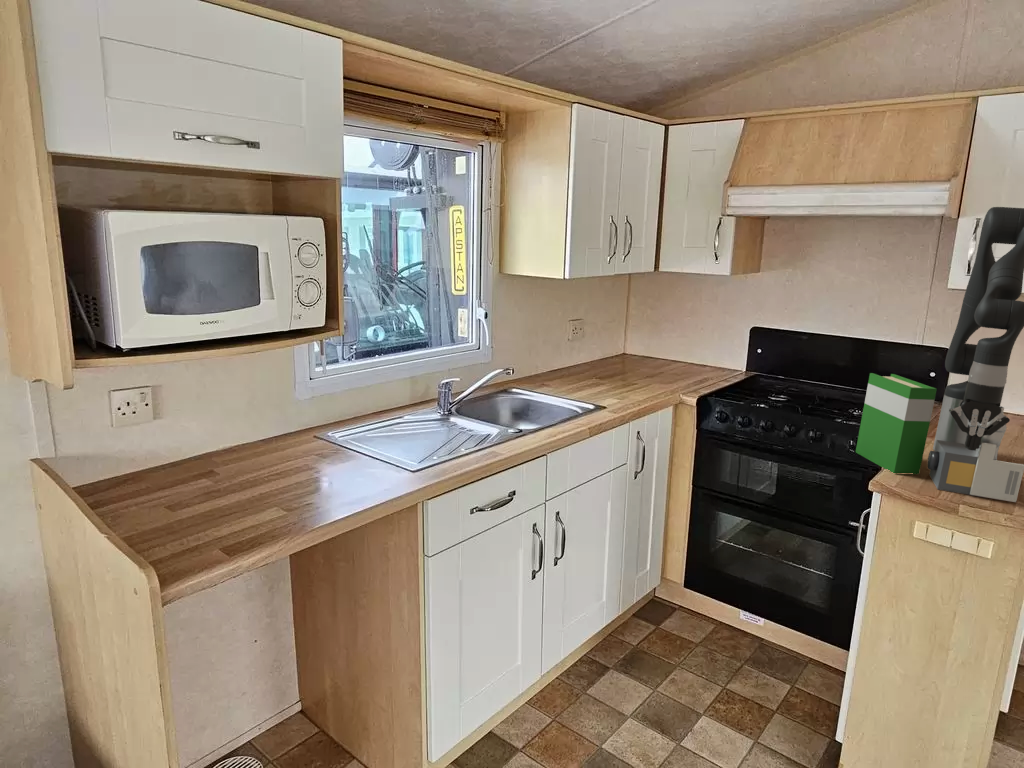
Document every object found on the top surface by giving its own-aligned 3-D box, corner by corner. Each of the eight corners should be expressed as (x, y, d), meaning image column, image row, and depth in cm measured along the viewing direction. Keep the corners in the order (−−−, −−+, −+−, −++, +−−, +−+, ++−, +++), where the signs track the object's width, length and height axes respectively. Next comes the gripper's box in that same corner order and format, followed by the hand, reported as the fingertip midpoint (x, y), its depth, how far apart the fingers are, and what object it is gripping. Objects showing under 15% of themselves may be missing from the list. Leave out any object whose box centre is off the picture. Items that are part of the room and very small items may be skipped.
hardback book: (855, 452, 203) (869, 373, 197) (878, 452, 203) (893, 374, 198) (893, 473, 186) (910, 387, 180) (919, 474, 186) (936, 388, 181)
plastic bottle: (966, 470, 192) (981, 401, 187) (995, 477, 188) (1012, 406, 183) (963, 476, 187) (979, 405, 182) (993, 483, 183) (1010, 411, 178)
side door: (969, 493, 173) (981, 442, 170) (1014, 500, 169) (1027, 449, 166) (970, 494, 172) (982, 443, 169) (1016, 502, 168) (1028, 450, 165)
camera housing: (922, 473, 187) (930, 435, 185) (971, 481, 183) (980, 443, 180) (930, 488, 176) (939, 448, 174) (983, 497, 172) (992, 456, 170)
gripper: (1014, 382, 167) (998, 449, 171) (951, 375, 172) (937, 440, 176) (1023, 388, 161) (1006, 458, 165) (958, 380, 165) (943, 448, 169)
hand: (971, 449), depth 170 cm, fingers closed
